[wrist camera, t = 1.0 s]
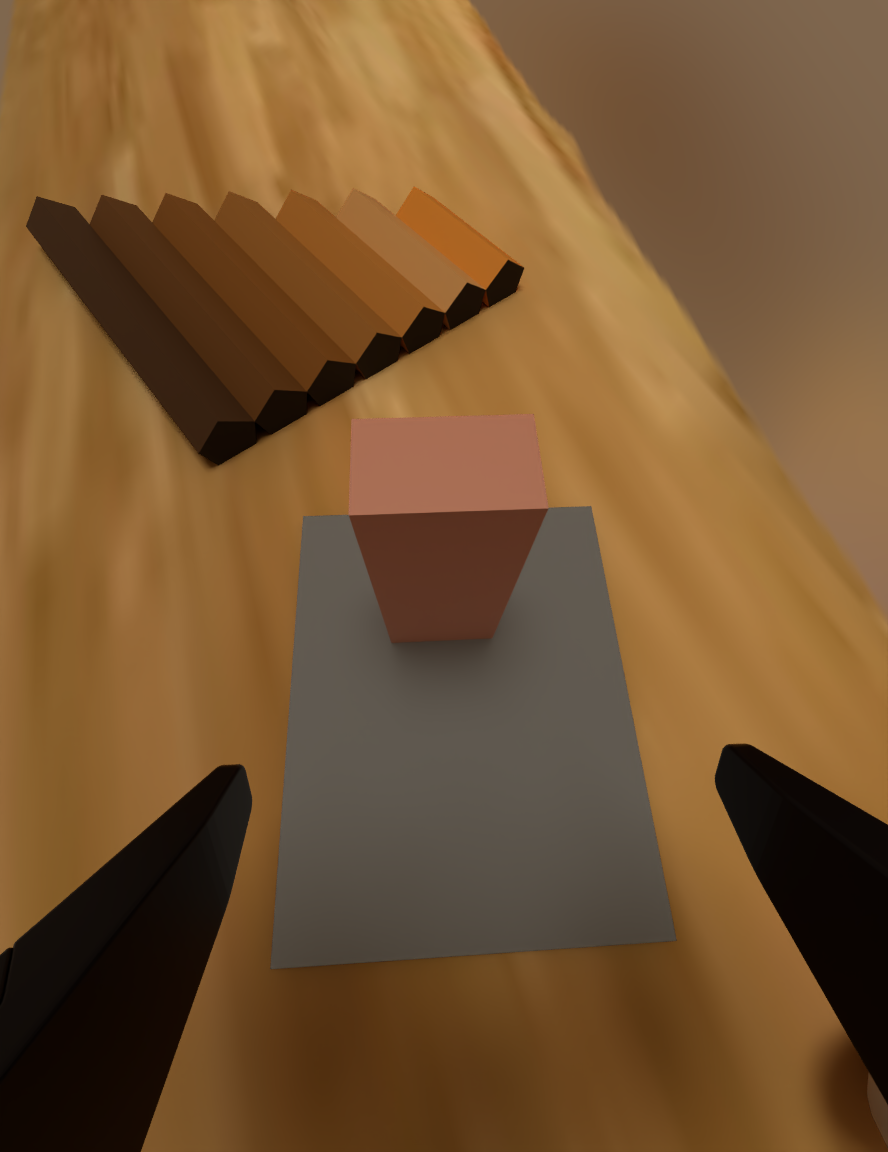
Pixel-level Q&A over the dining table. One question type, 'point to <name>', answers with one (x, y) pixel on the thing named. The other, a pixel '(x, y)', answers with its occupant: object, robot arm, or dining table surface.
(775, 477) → the dining table surface
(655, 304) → the dining table surface
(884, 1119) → the donut
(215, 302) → the pan flute
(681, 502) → the dining table surface
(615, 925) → the mat
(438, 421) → the tall box
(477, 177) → the dining table surface
